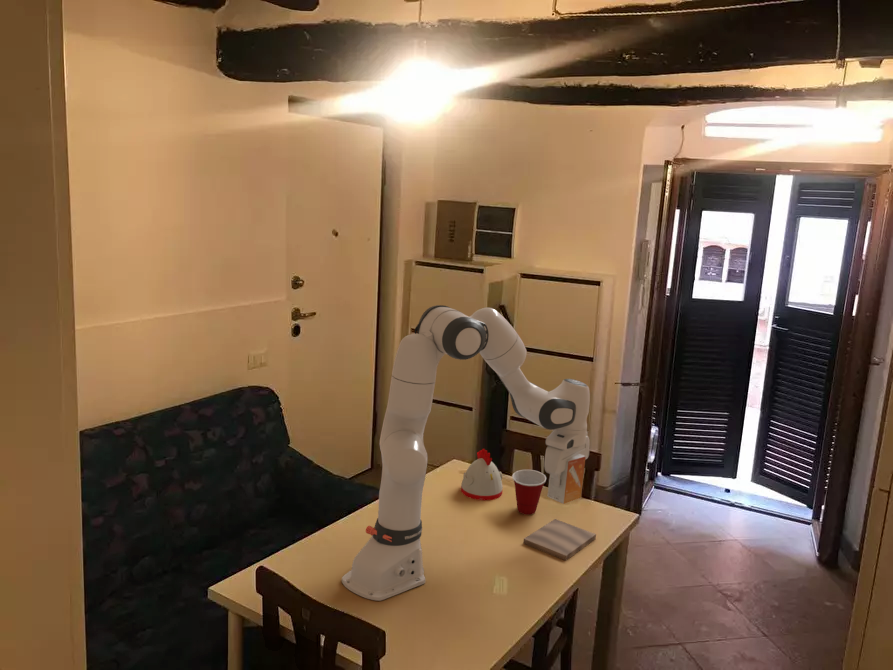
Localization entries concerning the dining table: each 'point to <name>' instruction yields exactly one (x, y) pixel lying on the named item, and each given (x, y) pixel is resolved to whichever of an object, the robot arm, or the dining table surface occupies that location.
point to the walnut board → (559, 539)
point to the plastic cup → (528, 490)
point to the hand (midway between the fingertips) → (565, 480)
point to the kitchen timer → (482, 479)
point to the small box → (569, 481)
